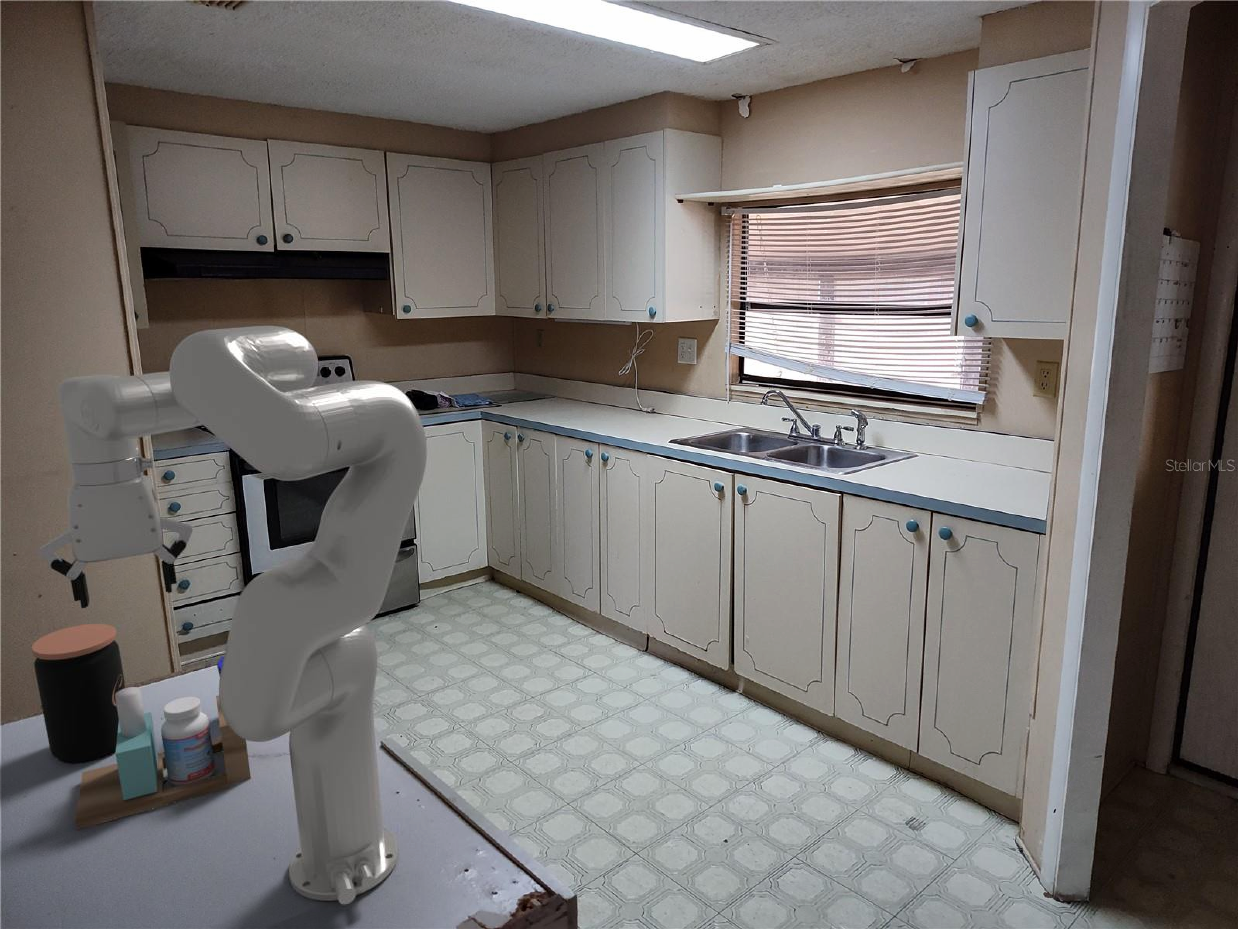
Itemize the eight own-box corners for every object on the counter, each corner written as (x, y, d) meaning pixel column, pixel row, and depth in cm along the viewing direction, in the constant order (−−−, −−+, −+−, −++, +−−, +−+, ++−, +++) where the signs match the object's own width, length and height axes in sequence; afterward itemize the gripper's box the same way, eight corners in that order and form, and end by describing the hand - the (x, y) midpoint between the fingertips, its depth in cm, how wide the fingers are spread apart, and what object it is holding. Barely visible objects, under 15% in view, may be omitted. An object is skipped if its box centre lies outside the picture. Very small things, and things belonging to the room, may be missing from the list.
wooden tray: (251, 782, 117) (244, 724, 115) (76, 829, 107) (65, 768, 105) (244, 741, 127) (237, 688, 125) (84, 781, 118) (74, 724, 115)
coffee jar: (136, 751, 125) (118, 641, 121) (52, 775, 119) (30, 661, 115) (130, 721, 134) (113, 617, 129) (51, 742, 128) (31, 634, 124)
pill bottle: (196, 790, 115) (185, 717, 113) (159, 785, 116) (147, 714, 114) (225, 765, 121) (215, 695, 118) (188, 761, 122) (178, 692, 120)
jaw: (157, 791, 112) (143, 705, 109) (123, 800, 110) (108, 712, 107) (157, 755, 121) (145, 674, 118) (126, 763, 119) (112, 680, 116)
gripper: (181, 458, 113) (199, 576, 117) (29, 475, 105) (53, 601, 109) (183, 468, 107) (201, 592, 110) (21, 487, 98) (47, 621, 102)
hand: (128, 597), depth 109 cm, fingers open, 9 cm apart
